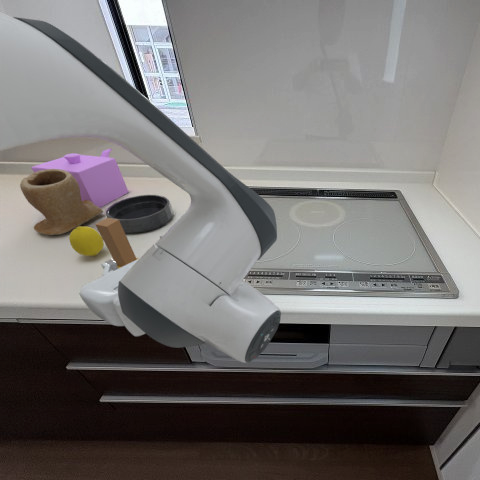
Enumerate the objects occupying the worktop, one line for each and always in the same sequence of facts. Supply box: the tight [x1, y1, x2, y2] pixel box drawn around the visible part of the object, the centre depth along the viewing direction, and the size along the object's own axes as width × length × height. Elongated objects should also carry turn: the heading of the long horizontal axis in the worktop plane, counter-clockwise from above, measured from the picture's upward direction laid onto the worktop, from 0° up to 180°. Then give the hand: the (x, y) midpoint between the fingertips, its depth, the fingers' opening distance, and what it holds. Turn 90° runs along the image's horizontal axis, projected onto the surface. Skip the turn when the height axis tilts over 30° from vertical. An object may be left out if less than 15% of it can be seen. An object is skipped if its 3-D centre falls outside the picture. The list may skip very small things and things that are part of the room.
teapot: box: [30, 148, 129, 208], centre depth 83 cm, size 15×25×14 cm, turn 171°
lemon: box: [68, 225, 105, 257], centre depth 60 cm, size 6×6×8 cm
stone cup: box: [19, 169, 104, 236], centre depth 69 cm, size 15×12×15 cm
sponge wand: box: [95, 217, 139, 268], centre depth 53 cm, size 5×4×14 cm
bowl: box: [105, 194, 174, 234], centre depth 75 cm, size 15×15×4 cm
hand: (138, 250), depth 45 cm, fingers open, 8 cm apart
